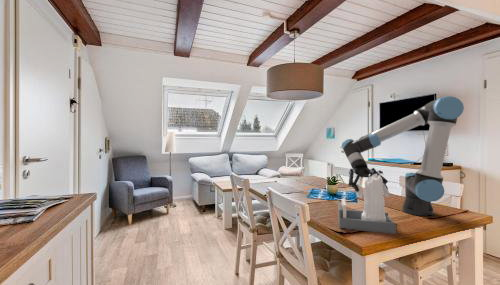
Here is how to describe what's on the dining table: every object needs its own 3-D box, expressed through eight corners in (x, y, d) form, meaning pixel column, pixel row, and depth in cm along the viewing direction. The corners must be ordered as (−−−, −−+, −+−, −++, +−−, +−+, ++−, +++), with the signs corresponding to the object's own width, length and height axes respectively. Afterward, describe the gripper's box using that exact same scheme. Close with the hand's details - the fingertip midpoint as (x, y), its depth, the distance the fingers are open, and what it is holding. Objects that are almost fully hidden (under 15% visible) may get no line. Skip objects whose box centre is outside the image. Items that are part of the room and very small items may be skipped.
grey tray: (387, 222, 121) (387, 205, 121) (395, 234, 106) (395, 214, 106) (338, 217, 129) (338, 201, 129) (339, 228, 114) (339, 210, 113)
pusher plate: (344, 217, 126) (344, 198, 126) (346, 225, 114) (346, 205, 114) (340, 216, 127) (340, 198, 127) (341, 225, 115) (341, 204, 114)
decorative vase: (374, 229, 109) (374, 176, 109) (357, 222, 119) (356, 173, 119) (391, 226, 113) (391, 174, 112) (373, 219, 123) (372, 171, 123)
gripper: (375, 166, 133) (395, 199, 118) (333, 167, 130) (348, 201, 115) (381, 157, 127) (402, 191, 112) (338, 158, 125) (354, 193, 110)
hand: (375, 196), depth 114 cm, fingers open, 13 cm apart
